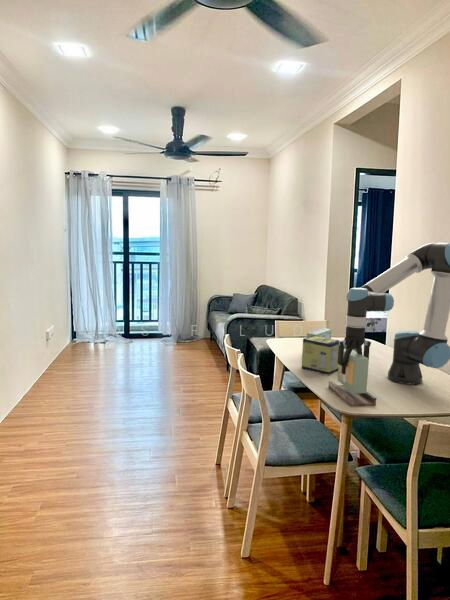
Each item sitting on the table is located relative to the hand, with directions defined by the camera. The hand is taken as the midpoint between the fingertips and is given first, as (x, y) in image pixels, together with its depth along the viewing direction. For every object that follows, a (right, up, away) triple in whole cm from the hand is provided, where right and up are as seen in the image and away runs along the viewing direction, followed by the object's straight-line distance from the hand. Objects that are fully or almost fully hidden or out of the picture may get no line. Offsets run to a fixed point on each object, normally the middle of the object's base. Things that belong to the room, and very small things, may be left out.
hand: (351, 381), depth 178 cm
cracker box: (0, -2, 0) cm, 2 cm away
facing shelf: (0, -6, +1) cm, 6 cm away
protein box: (-5, -2, +37) cm, 38 cm away
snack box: (-1, +2, +61) cm, 61 cm away
